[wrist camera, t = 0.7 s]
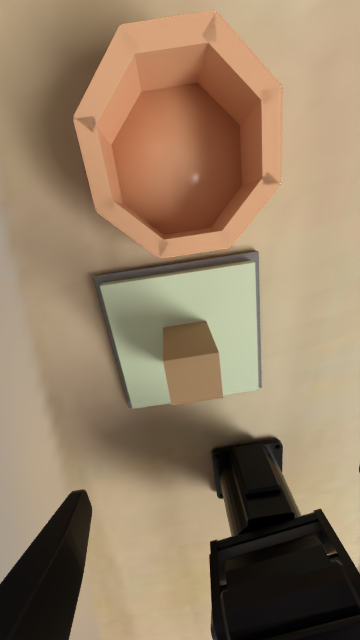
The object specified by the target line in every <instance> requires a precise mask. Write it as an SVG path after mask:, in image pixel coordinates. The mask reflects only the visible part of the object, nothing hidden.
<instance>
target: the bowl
mask: <svg viewBox="0 0 360 640" xmlns="http://www.w3.org/2000/svg"><path fill="white" fill-rule="evenodd" d="M121 26H122V28H121V27H120V26H119V27H118V29H117V31H116V33H115V35H114V37H113V39H112V41H111V43H110V45H109V47H108V49H107V51H106V53H105V55H104V57H103V59H102V61H101V63H100V65H99V67H98V69H97V71H96V73H95V75H94V77H93V79H92V81H91V83H90V85H89V86H88V88H87V90H86V92H85V94H84V96H83V98H82V100H81V102H80V104H79V106H78V108H77V110H76V112H75V114H74V116H73V117H74V118H75V119H73V121H74V125H75V129H76V133H77V137H78V141H79V145H80V149H81V153H82V157H83V161H84V165H85V170H86V174H87V178H88V182H89V186H90V190H91V194H92V198H93V202H94V206H95V210H96V211H97V213H98V214H99V215H101V216H102V217H103V218H105V219H106V220H107V221H109V222H110V223H111V224H113V225H114V226H116V227H117V228H118V229H120V230H121V231H122V232H124V233H125V234H126V235H128V236H129V237H130V238H132V239H133V240H135V241H136V242H137V243H139V244H140V245H141V246H143V247H144V248H145V249H147V250H148V251H149V252H151V253H152V254H154V255H155V256H156V257H158V258H160V259H162V258H169V257H175V256H182V255H189V254H195V253H202V252H208V251H215V250H221V249H228V248H230V247H232V246H233V245H234V243H235V242H236V241H237V239H238V238H239V237H240V236H241V234H242V233H243V232H244V231H245V229H246V228H247V227H248V226H249V224H250V223H251V222H252V220H253V219H254V218H255V217H256V215H257V214H258V213H259V212H260V210H261V209H262V208H263V207H264V205H265V204H266V203H267V201H268V200H269V199H270V198H271V196H272V195H273V194H274V193H275V191H276V190H277V189H278V188H279V186H280V185H281V184H280V183H281V178H282V87H281V83H280V82H279V81H278V80H277V79H276V78H275V77H274V75H273V74H272V73H271V72H270V71H269V70H268V69H267V68H266V66H265V65H264V64H263V63H262V62H261V61H260V60H259V58H258V57H257V56H256V55H255V54H254V53H253V52H252V50H251V49H250V48H249V47H248V46H247V45H246V44H245V42H244V41H243V40H242V39H241V38H240V37H239V36H238V35H237V33H236V32H235V31H234V30H233V29H232V28H231V27H230V25H229V24H228V23H227V22H226V21H225V20H224V19H223V17H222V16H221V15H220V14H219V13H218V12H217V11H216V13H215V10H211V11H205V12H198V13H191V14H185V15H178V16H172V17H165V18H159V19H152V20H145V21H139V22H132V23H126V24H121Z"/></svg>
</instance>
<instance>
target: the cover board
mask: <svg viewBox="0 0 360 640" xmlns="http://www.w3.org/2000/svg"><path fill="white" fill-rule="evenodd" d="M100 289H101V293H102V296H103V300H104V304H105V307H106V311H107V315H108V319H109V322H110V326H111V330H112V334H113V337H114V341H115V345H116V348H117V352H118V356H119V360H120V363H121V367H122V371H123V375H124V378H125V382H126V386H127V389H128V393H129V397H130V401H131V404H132V408H133V409H136V408H142V407H149V406H155V405H162V404H169V403H171V405H179V404H185V403H192V402H198V401H205V400H211V399H218V398H223V395H228V394H234V393H241V392H247V391H254V390H259V382H258V346H257V310H256V274H255V262H253V261H244V262H237V263H231V264H224V265H218V266H211V267H205V268H198V269H192V270H185V271H178V272H172V273H165V274H159V275H152V276H146V277H139V278H133V279H126V280H119V281H113V282H106V283H102V284H101V285H100Z"/></svg>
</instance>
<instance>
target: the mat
mask: <svg viewBox="0 0 360 640" xmlns="http://www.w3.org/2000/svg"><path fill="white" fill-rule="evenodd" d="M244 261H253V262H255V274H256V310H257V346H258V382H259V388H262V385H261V340H260V296H259V252H258V251H252V252H246V253H239V254H233V255H226V256H219V257H213V258H206V259H200V260H193V261H187V262H180V263H173V264H167V265H160V266H154V267H147V268H141V269H134V270H128V271H121V272H114V273H108V274H101V275H95V276H94V277H93V278H94V282H95V286H96V289H97V293H98V297H99V300H100V304H101V307H102V311H103V315H104V318H105V322H106V326H107V329H108V333H109V337H110V340H111V344H112V348H113V351H114V355H115V358H116V362H117V366H118V369H119V373H120V377H121V380H122V384H123V388H124V391H125V395H126V399H127V402H128V406H129V408H131V407H132V404H131V401H130V397H129V393H128V389H127V386H126V382H125V378H124V375H123V371H122V367H121V363H120V360H119V356H118V352H117V348H116V345H115V341H114V337H113V334H112V330H111V326H110V322H109V319H108V315H107V311H106V307H105V304H104V300H103V296H102V293H101V289H100V285H101V284H102V283H106V282H113V281H119V280H126V279H133V278H139V277H146V276H152V275H159V274H165V273H172V272H178V271H185V270H192V269H198V268H205V267H211V266H218V265H224V264H231V263H237V262H244Z"/></svg>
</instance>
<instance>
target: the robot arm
mask: <svg viewBox="0 0 360 640" xmlns="http://www.w3.org/2000/svg"><path fill="white" fill-rule="evenodd" d="M282 452H283V446H282V443H281V441H280V440H278V439H275V440H268V441H262V442H255V443H249V444H242V445H236V446H229V447H222V448H216V449H214V450H213V451H212V461H213V468H214V476H215V484H216V492H217V496H218V498H220V499H223V498H224V503H225V507H226V512H227V517H228V522H229V526H230V531H231V536H232V537H229V538H225V539H222V540H219V541H218V540H213V541H210V550H211V554H210V555H209V558H210V579H211V601H212V612H211V634H212V638H213V640H360V574H359V572H358V570H357V568H356V567H355V565H354V563H353V562H352V560H351V558H350V557H349V555H348V553H347V552H346V550H345V548H344V547H343V545H342V543H341V542H340V540H339V538H338V537H337V535H336V533H335V532H334V530H333V528H332V527H331V525H330V523H329V522H328V520H327V518H326V517H325V515H324V513H323V512H322V510H321V509H317V510H314V512H313V513H310V514H306V515H303V516H301V514H300V512H299V509H298V507H297V505H296V503H295V501H294V498H293V496H292V494H291V492H290V490H289V487H288V485H287V483H286V481H285V479H284V476H283V474H282ZM359 472H360V466H359ZM91 517H92V506H91V503H90V500H89V497H88V495H87V492H86V491H85V490H76V491H72V492H71V493H70V494H69V495H68V497H67V498H66V499H65V501H64V502H63V503H62V504H61V506H60V507H59V508H58V510H57V511H56V512H55V514H54V515H53V516H52V517H51V519H50V520H49V521H48V523H47V524H46V525H45V527H44V528H43V529H42V531H41V532H40V533H39V534H38V536H37V537H36V538H35V539H34V541H33V542H32V543H31V545H30V546H29V547H28V549H27V550H26V551H25V553H24V554H23V555H22V556H21V558H20V559H19V560H18V562H17V563H16V564H15V565H14V567H13V568H12V569H11V571H10V572H9V573H8V575H7V576H6V577H5V579H4V580H3V581H2V582H1V584H0V640H69V636H70V632H71V627H72V623H73V619H74V614H75V610H76V605H77V601H78V596H79V592H80V588H81V583H82V578H83V573H84V567H85V560H86V553H87V546H88V538H89V531H90V524H91ZM327 554H328V555H327Z"/></svg>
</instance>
